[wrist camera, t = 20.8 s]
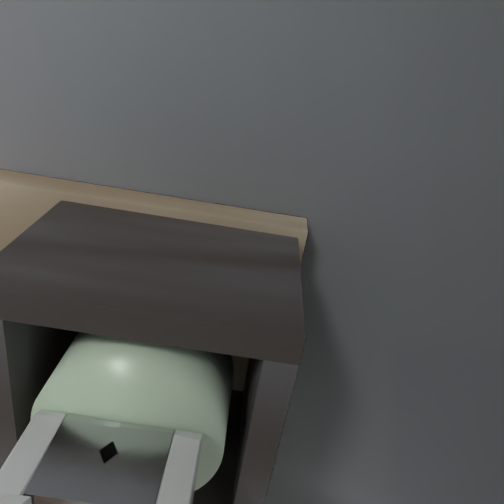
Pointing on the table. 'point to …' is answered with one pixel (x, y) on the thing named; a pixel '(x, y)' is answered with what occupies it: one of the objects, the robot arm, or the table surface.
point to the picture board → (153, 302)
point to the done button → (145, 389)
